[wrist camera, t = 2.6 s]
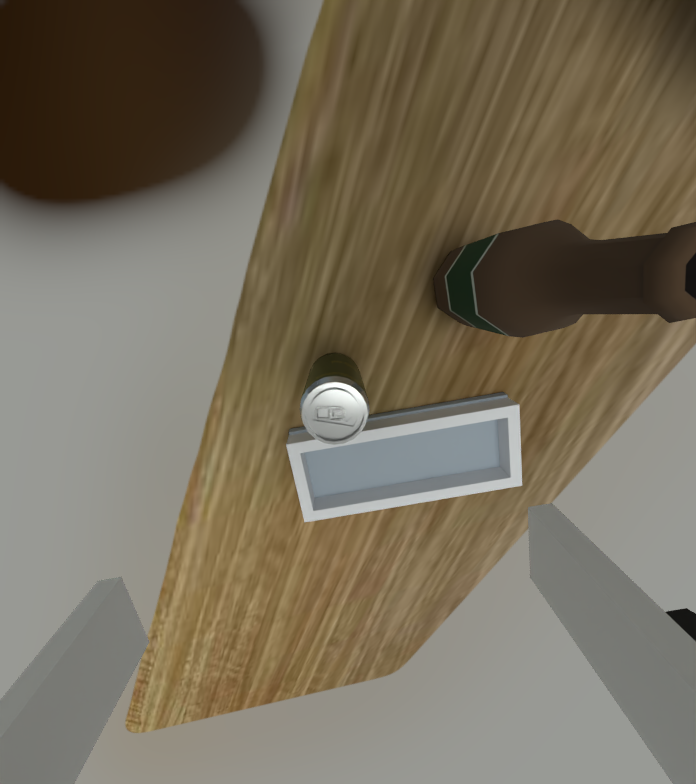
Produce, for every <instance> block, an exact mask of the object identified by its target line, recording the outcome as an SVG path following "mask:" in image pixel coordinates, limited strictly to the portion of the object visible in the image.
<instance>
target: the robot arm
mask: <svg viewBox="0 0 696 784" xmlns="http://www.w3.org/2000/svg"><path fill="white" fill-rule="evenodd" d="M528 525H529V554H530V578H531V579H532V581H533V582H534V583H535V585H536V586H537V588H538V589H539V591H540V592H541V594H542V595H543V597H544V598H545V599H546V601H547V602H548V604H549V605H550V607H551V608H552V609H553V611H554V612H555V614H556V615H557V617H558V618H559V619H560V621H561V623H562V624H563V625H564V627H565V628H566V630H567V631H568V633H569V634H570V636H571V637H572V638H573V640H574V641H575V643H576V644H577V646H578V647H579V649H580V650H581V651H582V653H583V654H584V656H585V657H586V659H587V660H588V662H589V663H590V664H591V666H592V667H593V669H594V670H595V672H596V673H597V675H598V676H599V677H600V679H601V680H602V682H603V683H604V685H605V686H606V688H607V689H608V691H609V692H610V693H611V695H612V696H613V698H614V699H615V701H616V702H617V704H618V705H619V706H620V708H621V709H622V711H623V712H624V714H625V715H626V716H627V718H628V719H629V721H630V722H631V724H632V725H633V727H634V728H635V730H636V731H637V732H638V734H639V735H640V737H641V738H642V740H643V741H644V743H645V744H646V745H647V747H648V748H649V750H650V751H651V753H652V754H653V756H654V757H655V758H656V760H657V761H658V763H659V764H660V766H661V767H662V769H663V770H664V771H665V773H666V774H667V776H668V777H669V779H670V780H671V781H672V783H673V784H696V614H695V613H694V612H692V611H690V610H688V609H687V608H686V609H680V610H674V611H668V612H664V611H663V610H662V609H661V608H660V607H659V606H658V605H657V604H656V603H655V602H654V601H653V600H652V599H651V598H650V597H649V596H648V595H647V594H646V593H645V592H644V591H643V590H642V589H641V588H639V587H638V586H637V585H636V584H635V583H634V582H633V581H632V580H631V579H630V578H629V577H628V576H627V575H626V574H625V573H624V572H623V571H622V570H621V569H620V568H619V567H618V566H617V565H616V564H615V563H613V562H612V561H611V560H610V559H609V558H608V557H607V556H606V555H605V554H604V553H603V552H602V551H601V550H600V549H599V548H598V547H597V546H596V545H595V544H594V543H593V542H592V541H591V540H589V538H588V537H587V536H585V535H584V534H583V533H582V532H581V531H580V530H579V529H578V528H577V527H576V526H575V525H574V524H573V523H572V522H571V521H570V520H569V519H568V518H567V517H566V516H565V515H564V514H562V513H561V511H559V510H558V509H557V508H556V507H555V506H554V505H553V504H552V503H550V504H545V505H539V506H533V507H528ZM148 643H149V640H148V637H147V635H146V633H145V631H144V628H143V626H142V624H141V621H140V619H139V617H138V614H137V612H136V610H135V607H134V605H133V603H132V600H131V598H130V596H129V593H128V591H127V589H126V587H125V584H124V582H123V579H122V578H121V577H118V578H113V579H107V580H101V581H98V582H97V583H96V584H95V585H94V587H93V588H92V589H91V590H90V592H89V593H88V594H87V595H86V596H85V598H84V599H83V600H82V601H81V602H80V604H79V605H78V606H77V607H76V608H75V610H74V611H73V612H72V613H71V615H70V616H69V617H68V618H67V619H66V621H65V622H64V623H63V624H62V625H61V627H60V628H59V629H58V630H57V632H56V633H55V634H54V635H53V636H52V638H51V639H50V640H49V641H48V643H47V644H46V645H45V646H44V647H43V649H42V650H41V651H40V652H39V654H38V655H37V656H36V657H35V658H34V660H33V661H32V662H31V663H30V664H29V666H28V667H27V668H26V669H25V671H24V672H23V673H22V674H21V676H20V677H19V678H18V679H17V680H16V682H15V683H14V684H13V685H12V686H11V688H10V689H9V690H8V691H7V693H6V694H5V695H4V696H3V698H2V699H1V700H0V784H74V783H75V781H76V779H77V777H78V775H79V774H80V772H81V770H82V768H83V766H84V764H85V762H86V760H87V758H88V757H89V755H90V753H91V751H92V749H93V747H94V745H95V743H96V742H97V740H98V738H99V736H100V734H101V732H102V730H103V728H104V726H105V725H106V723H107V721H108V718H109V717H110V715H111V713H112V711H113V709H114V708H115V706H116V704H117V702H118V700H119V698H120V696H121V694H122V692H123V691H124V689H125V686H126V685H127V683H128V681H129V679H130V677H131V676H132V674H133V671H134V670H135V668H136V666H137V664H138V662H139V660H140V659H141V657H142V655H143V653H144V651H145V649H146V647H147V645H148Z"/></svg>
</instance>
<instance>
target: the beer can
mask: <svg viewBox="0 0 696 784" xmlns="http://www.w3.org/2000/svg"><path fill="white" fill-rule="evenodd" d="M369 411H370V410H369V401H368V397H367V394H366V391H365V388H364V385H363V381H362V378H361V375H360V372H359V369H358V367H357V365H356V364H355V363H354V362H353V360H352V359H351V358H349V357H347V356H345V355H343V354H338V353H332V354H326V355H324V356H322V357H320V358H319V359H318V360H317V361H316V362H315V363H314V364H313V366H312V368H311V370H310V373H309V376H308V379H307V383H306V386H305V389H304V392H303V395H302V399H301V404H300V414H301V419H302V421H303V424H304V426H305V428H306V429H307V431H308V432H309V433H310V434H311V435H312V436H313V437H314V438H315V439H317V440H319V441H321V442H323V443H327V444H333V445H335V444H343V443H346V442H348V441H350V440H353V439H354V438H355V437H356V436H358V435H359V434H360V433H361V431H362V430H363V428H364V426H365V425H366V422H367V420H368V415H369Z"/></svg>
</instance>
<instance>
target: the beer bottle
mask: <svg viewBox="0 0 696 784" xmlns="http://www.w3.org/2000/svg"><path fill="white" fill-rule="evenodd" d="M433 280H434V286H435V293H436V299H437V306H438V308H439V309H441V310H442V311H444V312H445V313H447V314H448V315H449V316H451V317H452V318H454V319H455V320H457V321H458V322H460V323H462V324H464V325H467V326H471V327H475V328H479V329H483V330H487V331H491V332H495V333H499V334H503V335H507V336H513V337H527V336H531V335H535V334H539V333H544V332H548V331H552V330H556V329H561V328H565V327H567V326H569V325H572V324H574V323H576V322H577V321H578V320H579V318H580V317H581V316H582V315H583V314H658V315H660V316H661V317H662V318H663V319H665V320H666V321H667V322H669V323H671V322H677V321H682V320H687V319H692V318H696V222H694V223H690V224H685V225H681V226H677V227H673V228H671V229H670V231H669V232H668V233H663V234H654V235H645V236H636V237H627V238H617V239H608V240H591V239H589V238H588V237H586V236H585V235H584V234H582V233H581V232H580V231H579V230H577V229H576V228H575V227H574V226H572V225H571V224H569V223H566V222H563V221H560V220H554V221H549V222H544V223H539V224H535V225H531V226H527V227H523V228H519V229H515V230H510V231H506V232H502V233H498V234H496V235H493V236H490V237H487V238H485V239H482V240H479V241H476V242H474V243H471V244H468V245H465V246H462V247H460V248H457V249H455V250H453V251H451V252H450V254H449V255H448V257H447V258H446V260H445V261H444V263H443V264H442V266H441V267H440V269H439V270H438V272H437V273H436V275H435V277H434V278H433Z"/></svg>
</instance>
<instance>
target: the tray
mask: <svg viewBox="0 0 696 784" xmlns="http://www.w3.org/2000/svg"><path fill="white" fill-rule="evenodd" d="M286 446H287V450H288V454H289V459H290V463H291V467H292V471H293V475H294V480H295V484H296V488H297V492H298V496H299V500H300V505H301V509H302V513H303V517H304V521H305V522H310V521H316V520H322V519H327V518H333V517H339V516H345V515H351V514H357V513H363V512H369V511H375V510H381V509H386V508H392V507H398V506H404V505H410V504H416V503H422V502H428V501H434V500H440V499H446V498H451V497H457V496H463V495H469V494H475V493H481V492H487V491H493V490H499V489H505V488H510V487H516V486H522V468H521V439H520V410H519V404H518V403H516V402H514V401H513V400H511V399H509V398H508V396H507V394H505V393H504V392H501V393H496V394H490V395H484V396H478V397H472V398H467V399H461V400H455V401H449V402H443V403H438V404H432V405H426V406H420V407H414V408H409V409H403V410H397V411H391V412H386V413H380V414H374V415H368V420H367V422H366V425H365V426H364V428H363V430H362V431H361V433H360V434H359V435H358V436H356V437H355V438H354V439H353V440H350V441H348V442H346V443H343V444H335V445H333V444H327V443H323V442H321V441H319V440H317V439H315V438H314V437H313V436H312V435H311V434H310V433H309V432H308V431H307V429H306V428H305V427H299V428H293V429H290V430H289V437H288V440H287V444H286Z"/></svg>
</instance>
